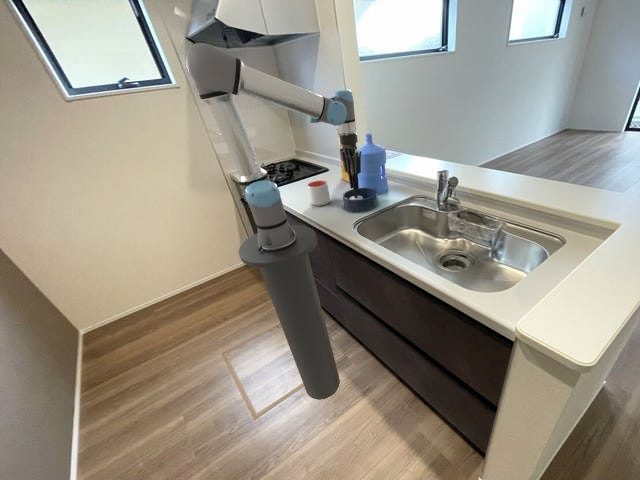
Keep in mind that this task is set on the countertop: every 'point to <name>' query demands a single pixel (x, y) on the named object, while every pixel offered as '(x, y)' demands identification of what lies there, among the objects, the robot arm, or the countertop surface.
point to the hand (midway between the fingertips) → (354, 188)
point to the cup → (319, 193)
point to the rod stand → (355, 191)
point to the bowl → (361, 200)
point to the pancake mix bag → (344, 174)
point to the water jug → (373, 166)
